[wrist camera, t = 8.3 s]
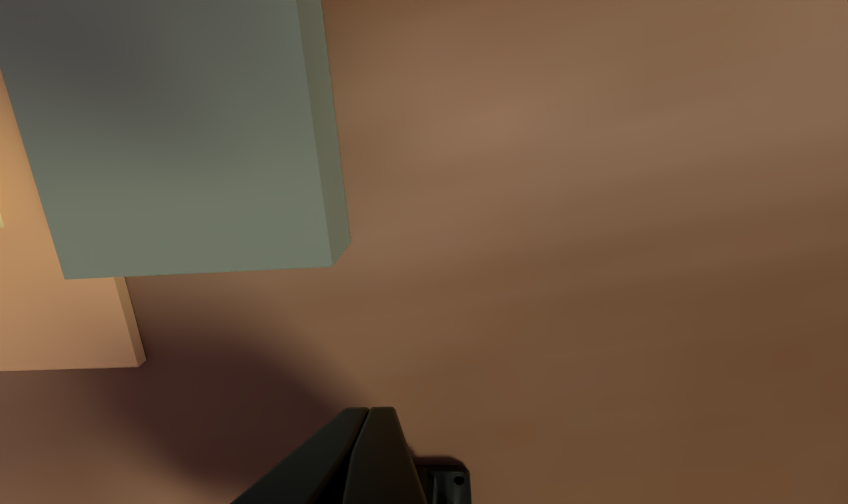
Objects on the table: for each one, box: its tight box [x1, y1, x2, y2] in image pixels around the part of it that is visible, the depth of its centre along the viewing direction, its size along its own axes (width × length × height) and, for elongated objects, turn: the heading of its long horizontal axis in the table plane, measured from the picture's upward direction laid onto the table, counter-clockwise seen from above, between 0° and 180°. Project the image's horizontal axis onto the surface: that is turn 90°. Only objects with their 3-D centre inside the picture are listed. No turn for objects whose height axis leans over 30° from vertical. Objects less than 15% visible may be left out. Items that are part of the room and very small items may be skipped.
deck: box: [0, 0, 351, 280], centre depth 18 cm, size 12×10×3 cm
